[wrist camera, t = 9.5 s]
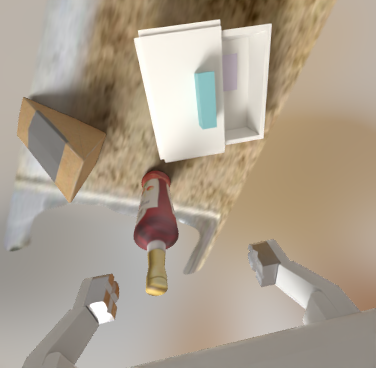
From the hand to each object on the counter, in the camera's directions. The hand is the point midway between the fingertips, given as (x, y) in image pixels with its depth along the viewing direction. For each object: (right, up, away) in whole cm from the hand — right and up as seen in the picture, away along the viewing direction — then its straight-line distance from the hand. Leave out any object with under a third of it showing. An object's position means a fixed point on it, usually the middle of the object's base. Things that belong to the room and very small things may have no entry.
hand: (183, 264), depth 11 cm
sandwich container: (-25, +15, +28) cm, 41 cm away
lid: (0, +20, +23) cm, 30 cm away
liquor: (-8, +6, +37) cm, 38 cm away
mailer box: (+8, +24, +28) cm, 38 cm away
